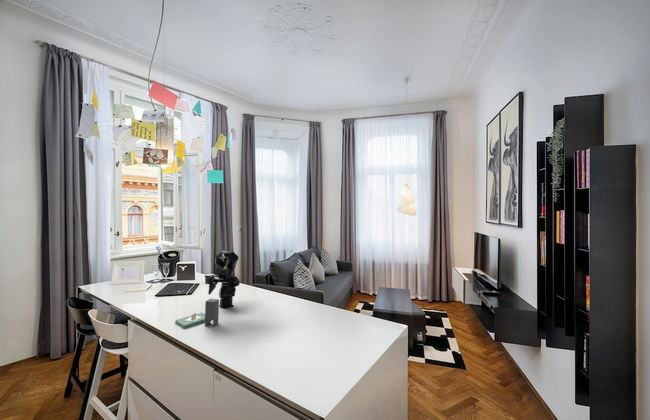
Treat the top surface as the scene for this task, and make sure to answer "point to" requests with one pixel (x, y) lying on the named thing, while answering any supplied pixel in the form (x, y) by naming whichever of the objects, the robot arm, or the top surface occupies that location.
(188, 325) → the board
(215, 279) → the robot arm
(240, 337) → the top surface
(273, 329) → the top surface
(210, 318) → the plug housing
